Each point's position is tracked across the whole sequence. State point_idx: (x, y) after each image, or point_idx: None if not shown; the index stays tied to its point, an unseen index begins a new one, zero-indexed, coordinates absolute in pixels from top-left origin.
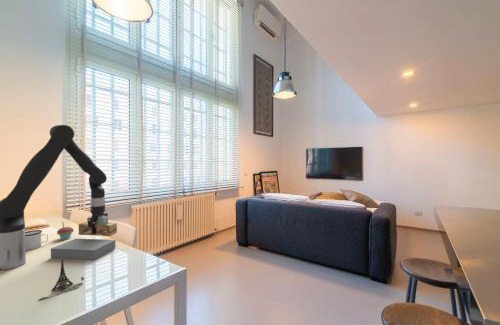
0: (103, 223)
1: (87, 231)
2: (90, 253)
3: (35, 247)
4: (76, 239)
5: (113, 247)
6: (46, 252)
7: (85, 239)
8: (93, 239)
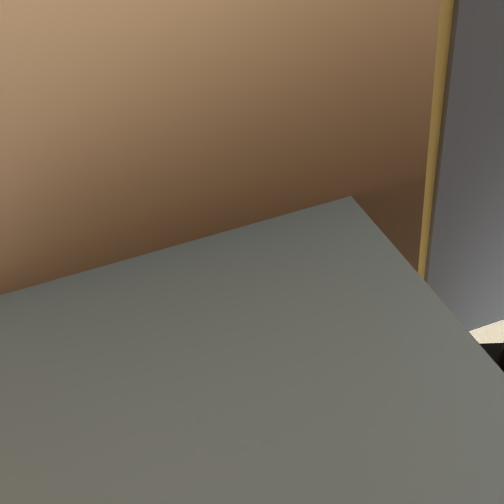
0: (377, 242)
1: None
2: None
3: None
4: (455, 306)
5: None
6: (489, 341)
7: (462, 191)
8: (471, 28)
